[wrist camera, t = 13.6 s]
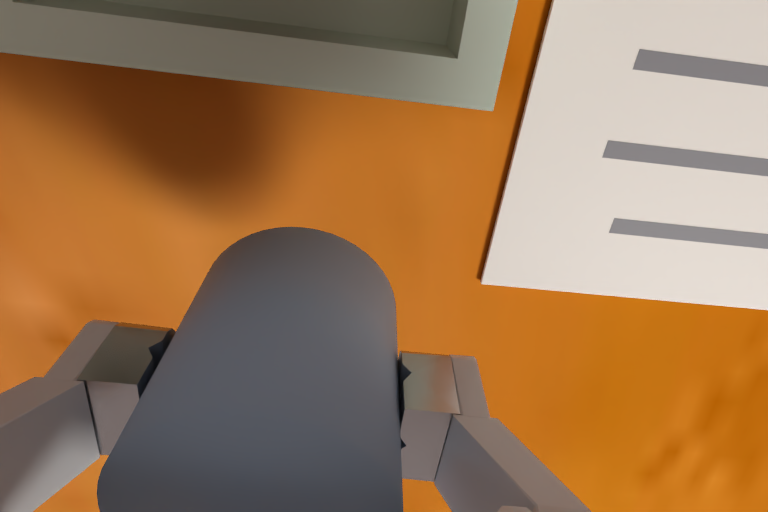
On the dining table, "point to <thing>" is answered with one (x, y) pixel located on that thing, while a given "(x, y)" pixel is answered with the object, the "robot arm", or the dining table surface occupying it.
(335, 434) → the blue cylinder
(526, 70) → the dining table surface
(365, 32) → the tray
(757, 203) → the letter
